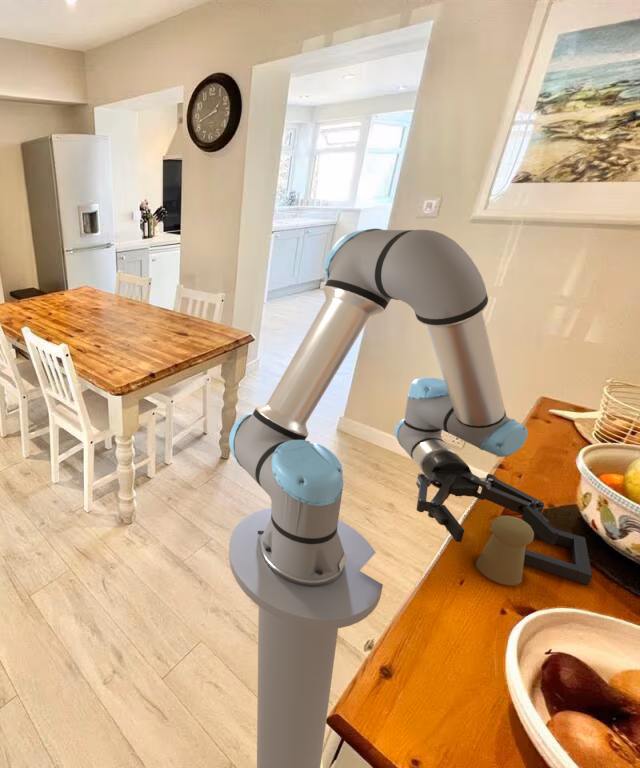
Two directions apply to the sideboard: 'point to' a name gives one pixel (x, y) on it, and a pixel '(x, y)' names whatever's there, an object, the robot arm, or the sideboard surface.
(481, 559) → the cork
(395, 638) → the sideboard surface
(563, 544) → the dock pad
